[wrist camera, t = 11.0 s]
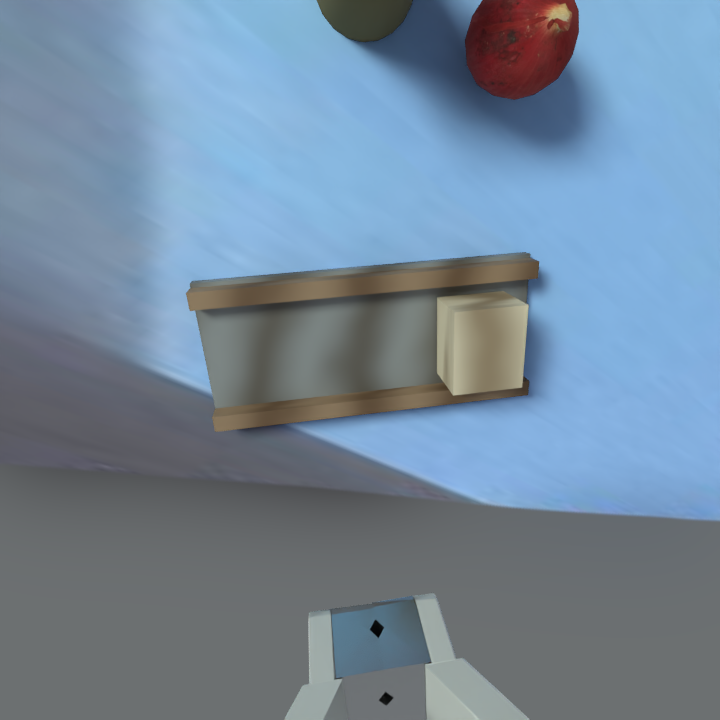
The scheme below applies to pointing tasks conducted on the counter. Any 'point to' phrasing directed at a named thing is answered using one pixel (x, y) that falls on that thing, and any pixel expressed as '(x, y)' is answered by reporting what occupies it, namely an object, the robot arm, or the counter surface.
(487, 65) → the onion
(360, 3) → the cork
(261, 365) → the chute
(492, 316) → the birch block
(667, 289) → the counter surface
